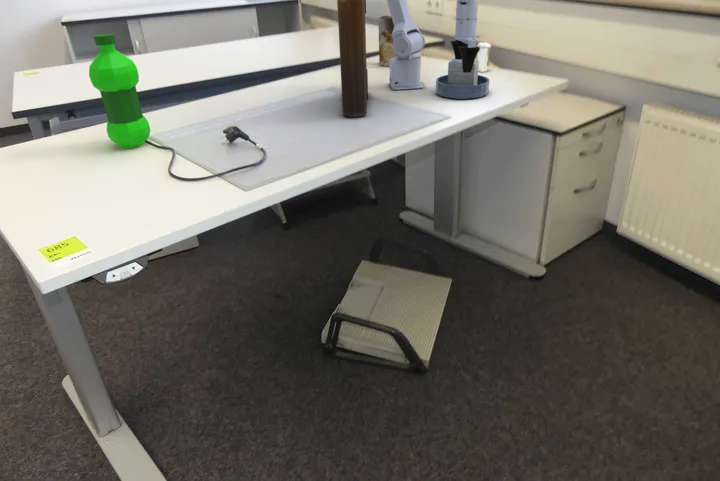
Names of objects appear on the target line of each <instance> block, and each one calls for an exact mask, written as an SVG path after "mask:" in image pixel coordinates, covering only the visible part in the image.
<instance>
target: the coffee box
mask: <svg viewBox="0 0 720 481" xmlns="http://www.w3.org/2000/svg"><path fill="white" fill-rule="evenodd" d="M377 20H378V21H377V22H378V23H377V24H378V55H379V56H378V58H379V59H378V63H379V66H380V67H390V58H395V57H397V55H396V54H395V53H394V50H393V38H392V32H393V29H394V23H393V20H392V17H391V15H382V16H379V18H377Z"/></svg>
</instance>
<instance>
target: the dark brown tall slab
mask: <svg viewBox="0 0 720 481" xmlns="http://www.w3.org/2000/svg"><path fill="white" fill-rule="evenodd" d="M336 4H337V19H338V20H337V22H338V24H337V26H338V43H339V44H338V45H339V65H340V84H341V85H340V86H341V104H342V105H341V106H342V108H341V109H342V114H343V116H345V117H363V116H366V115H367V113H368V100H369V77H368V73H369V72H368V68H367V35H366V34H367V31H366V14H367V0H336Z"/></svg>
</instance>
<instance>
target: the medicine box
mask: <svg viewBox="0 0 720 481" xmlns="http://www.w3.org/2000/svg"><path fill="white" fill-rule="evenodd" d="M447 64H448V65H447V75H448V85H453V86H474V85H477V79H478V75H479V71H478V64H479V61H477V59H475V60H474V63H473V67H472V70H471V72H468V73H464V72H463V68H462V60H459V59H455V58H453V59H451V60H450V61H449V62H448V63H447Z"/></svg>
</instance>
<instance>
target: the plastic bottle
mask: <svg viewBox="0 0 720 481" xmlns="http://www.w3.org/2000/svg"><path fill="white" fill-rule="evenodd" d="M93 38H94V42H95V46H98V47H99V48H98V49H99V52H98V54H97V55H96V56H95V57H94V59H93V60H92V62H91V63H90V65H89V68H88V69H89V70H88V76H89V78H90V80H89V81H90V82H91V84H92V86H93V88H95V89H96V90H98V91H99V92H100V96H101V101H102V104H103V107H104V111H105V114H106V117H107V123H106V133H107V137H108V139H110V141H111V142H112V143H114V144H115V145H117V146H120V147H121V148H123V149H134V148H138V147H141V146H143V145H144V143H146V141H147V140H148V138H150V135H151V127H150V123H149V121H148V120H147V118H146V117H145V116H144V114H143V111H142V107H141V103H140V99H139V95H138V91H137V87H136V86H137V85H138V83H139V82H140V77H139V76H140V74H139V70H138V67H137V65H136V64H135V62H134V60H132V59H131V58H129V57H128V56H127V55H125V54H123V53H121V52H120V51H118V50H117V49H116V47H115V44H117V41H116V36H115V33H114V32H113V33H112V32H107V33H106V32H105V33H103V32H102V33H97V34H94V35H93Z"/></svg>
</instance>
